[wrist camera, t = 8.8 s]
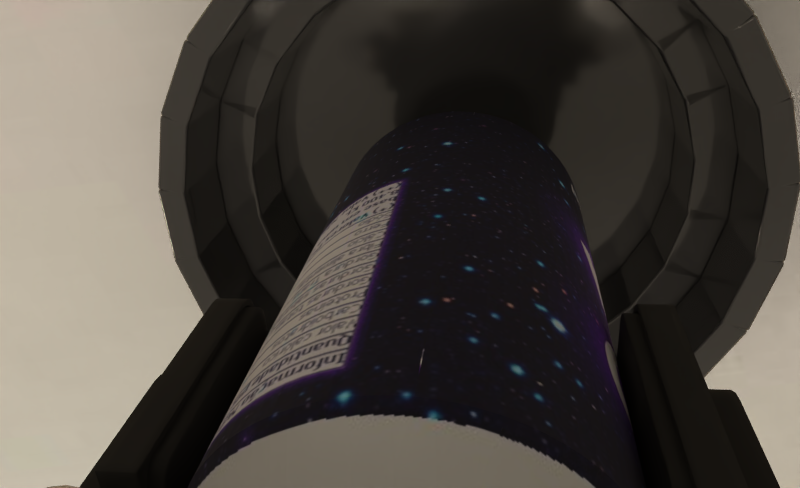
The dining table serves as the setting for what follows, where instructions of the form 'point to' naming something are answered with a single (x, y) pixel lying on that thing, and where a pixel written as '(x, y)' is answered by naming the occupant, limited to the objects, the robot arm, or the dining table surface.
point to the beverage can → (438, 332)
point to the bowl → (504, 98)
